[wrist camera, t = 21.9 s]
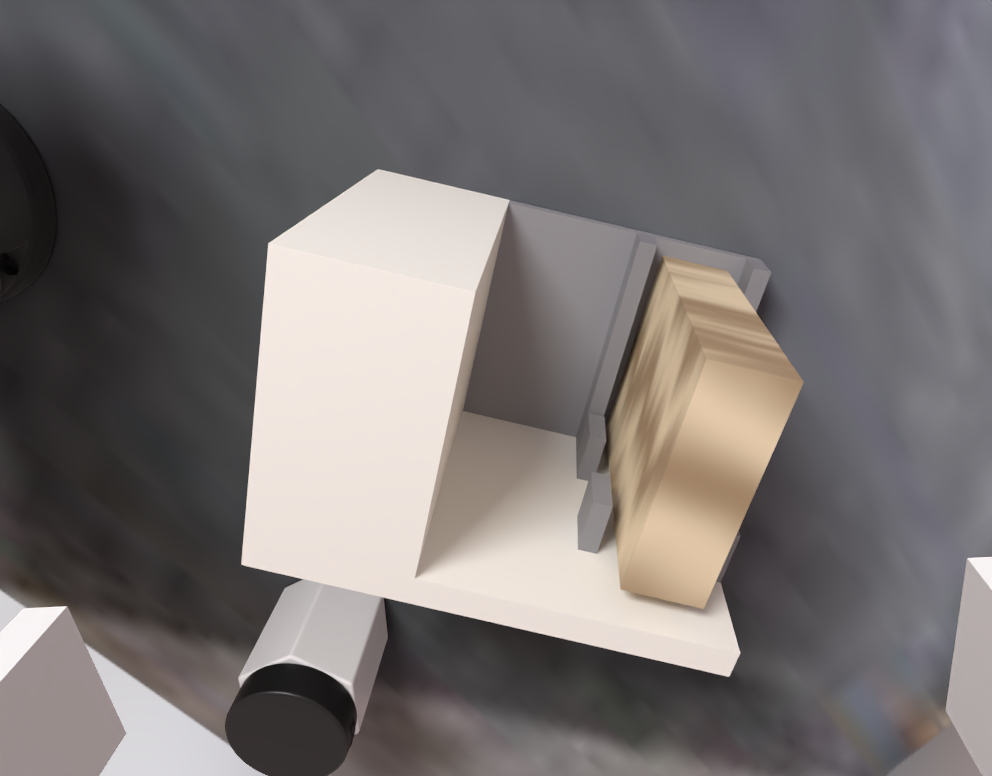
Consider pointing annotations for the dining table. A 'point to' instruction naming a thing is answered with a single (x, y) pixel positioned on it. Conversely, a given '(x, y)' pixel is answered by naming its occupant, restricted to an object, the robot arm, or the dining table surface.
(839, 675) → the dining table surface
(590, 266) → the cabinet
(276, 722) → the jar
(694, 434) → the tan patterned box
